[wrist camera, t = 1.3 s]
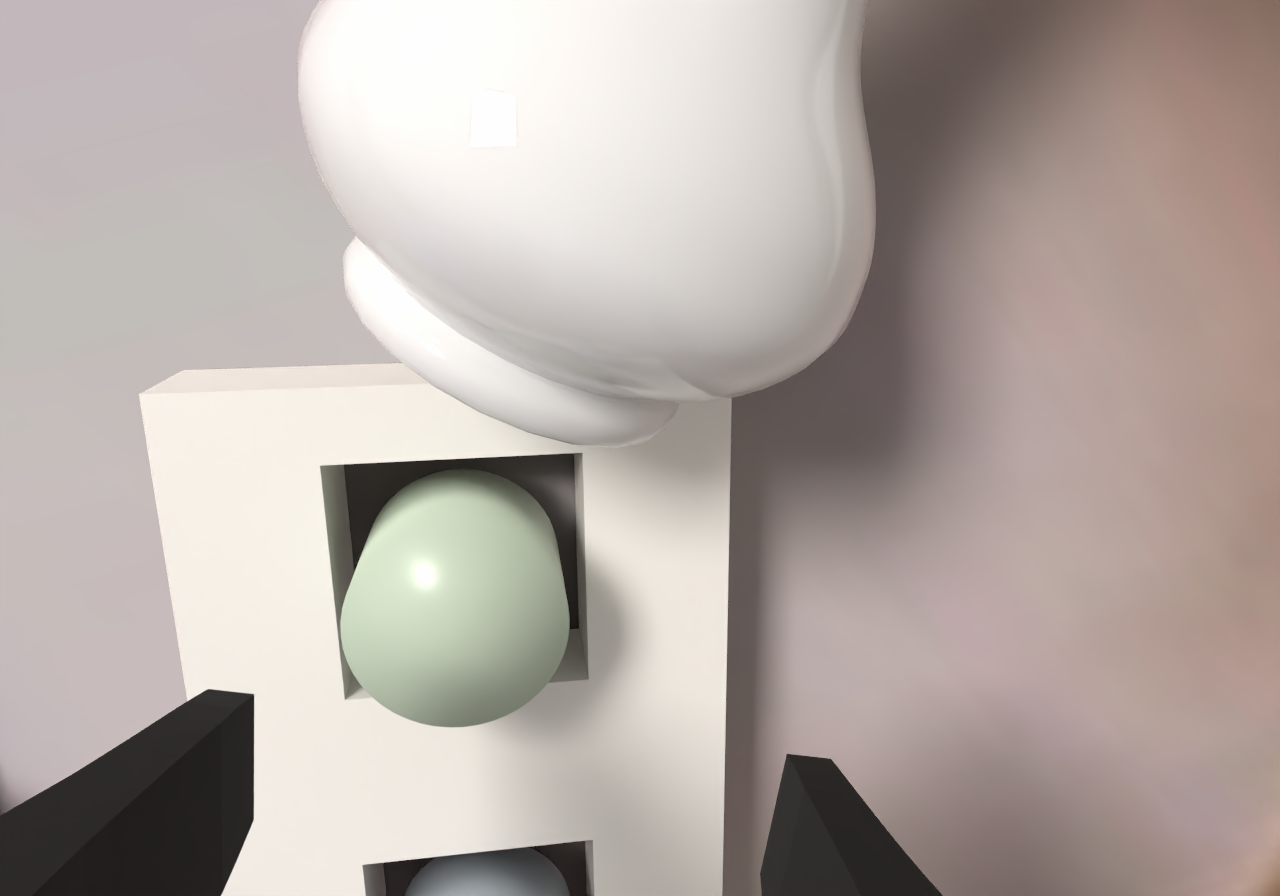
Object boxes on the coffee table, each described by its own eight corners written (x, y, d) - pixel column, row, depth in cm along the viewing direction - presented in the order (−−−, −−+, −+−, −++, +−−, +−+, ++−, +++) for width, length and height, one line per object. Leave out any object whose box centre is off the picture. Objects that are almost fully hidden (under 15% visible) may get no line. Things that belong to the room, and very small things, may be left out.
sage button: (374, 652, 20) (351, 736, 16) (356, 474, 18) (329, 528, 15) (561, 638, 20) (572, 717, 17) (555, 463, 19) (565, 515, 16)
